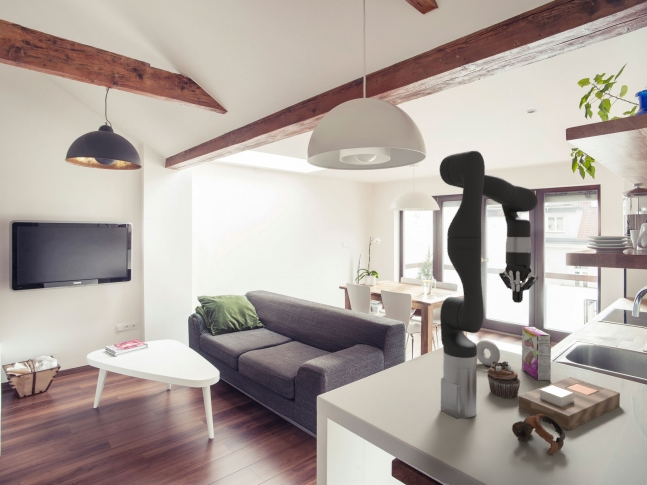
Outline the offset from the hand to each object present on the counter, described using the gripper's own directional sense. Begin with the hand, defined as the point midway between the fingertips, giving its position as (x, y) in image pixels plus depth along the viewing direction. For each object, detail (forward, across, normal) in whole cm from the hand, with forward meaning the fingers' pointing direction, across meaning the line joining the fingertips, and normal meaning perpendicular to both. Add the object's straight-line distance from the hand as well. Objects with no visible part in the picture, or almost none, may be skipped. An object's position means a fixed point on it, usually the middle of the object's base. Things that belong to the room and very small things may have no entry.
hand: (517, 302), depth 126 cm
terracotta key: (+28, +17, +7) cm, 33 cm away
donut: (+29, -18, +9) cm, 35 cm away
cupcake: (+29, +1, -8) cm, 30 cm away
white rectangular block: (+25, +17, -7) cm, 31 cm away
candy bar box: (+29, -3, +16) cm, 33 cm away
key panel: (+29, +17, 0) cm, 33 cm away
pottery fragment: (+29, +23, -27) cm, 46 cm away
